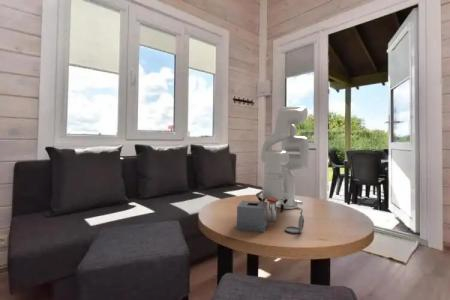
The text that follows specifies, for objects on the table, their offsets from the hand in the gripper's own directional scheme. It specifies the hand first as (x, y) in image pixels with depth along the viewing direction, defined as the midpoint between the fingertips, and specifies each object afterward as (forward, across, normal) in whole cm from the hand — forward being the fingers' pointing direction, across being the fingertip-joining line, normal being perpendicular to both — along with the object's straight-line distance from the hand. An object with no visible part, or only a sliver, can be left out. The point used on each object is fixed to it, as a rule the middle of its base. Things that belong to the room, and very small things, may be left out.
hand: (272, 211), depth 124 cm
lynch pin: (+4, 0, 0) cm, 4 cm away
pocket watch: (+5, -11, +13) cm, 18 cm away
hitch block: (+4, +8, +12) cm, 15 cm away
